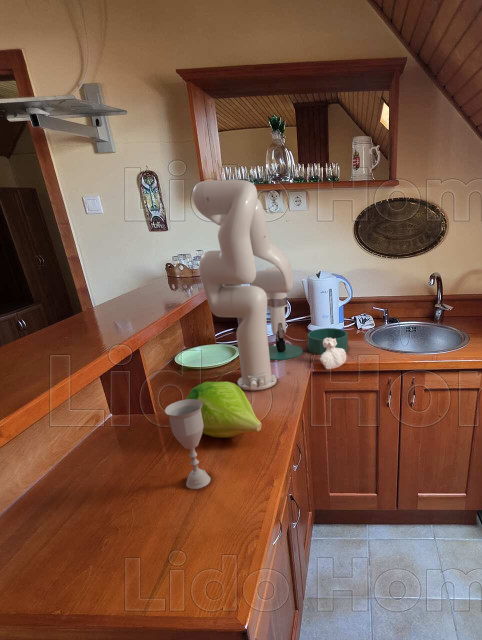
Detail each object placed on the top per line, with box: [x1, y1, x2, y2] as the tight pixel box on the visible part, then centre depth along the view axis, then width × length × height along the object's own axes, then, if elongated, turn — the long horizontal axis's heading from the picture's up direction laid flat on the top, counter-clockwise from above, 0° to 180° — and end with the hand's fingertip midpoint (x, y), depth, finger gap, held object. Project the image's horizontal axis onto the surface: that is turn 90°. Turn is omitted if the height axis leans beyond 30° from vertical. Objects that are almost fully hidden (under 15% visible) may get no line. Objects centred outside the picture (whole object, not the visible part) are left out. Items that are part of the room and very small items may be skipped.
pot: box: [306, 327, 349, 356], centre depth 165 cm, size 16×16×6 cm
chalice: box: [164, 398, 211, 490], centre depth 87 cm, size 7×7×18 cm
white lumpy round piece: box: [319, 338, 347, 370], centre depth 148 cm, size 12×8×11 cm
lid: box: [269, 343, 304, 361], centre depth 162 cm, size 17×17×7 cm
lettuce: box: [185, 381, 263, 439], centre depth 106 cm, size 15×22×15 cm
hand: (281, 348), depth 162 cm, fingers closed on lid, 2 cm apart
